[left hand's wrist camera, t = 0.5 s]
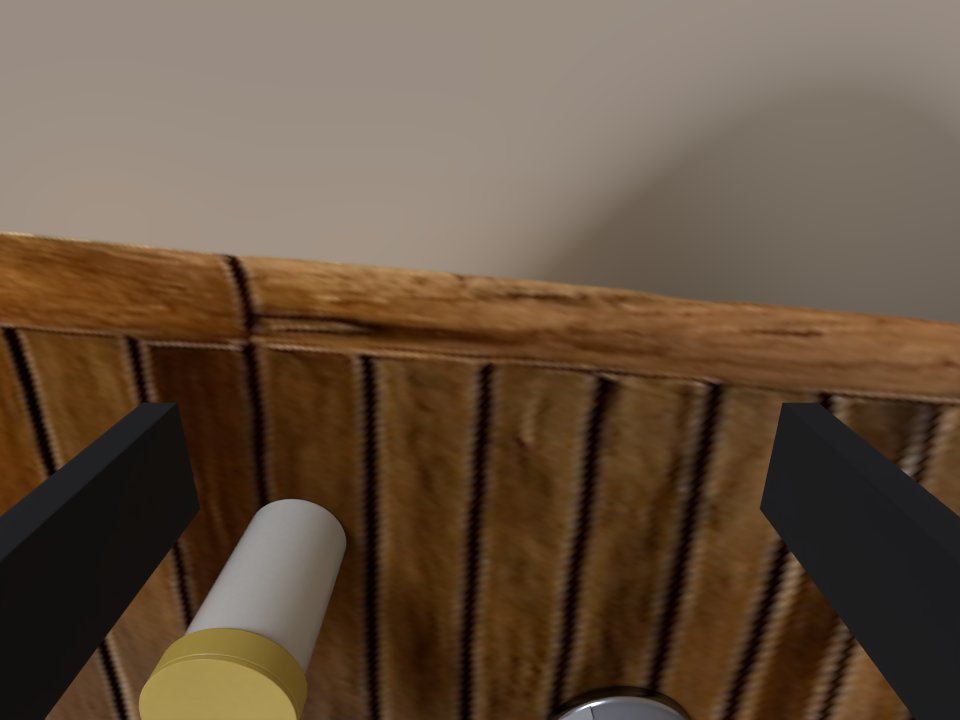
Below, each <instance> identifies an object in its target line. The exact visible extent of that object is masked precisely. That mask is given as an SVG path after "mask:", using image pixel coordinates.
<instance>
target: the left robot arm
mask: <svg viewBox="0 0 960 720" xmlns="http://www.w3.org/2000/svg"><path fill="white" fill-rule="evenodd" d="M199 510H200V506H199V501H198V496H197V492H196V487H195V483H194V478H193V473H192V469H191V464H190V459H189V455H188V450H187V445H186V441H185V436H184V431H183V427H182V422H181V417H180V413H179V408H178V403H141V404H140V405H139V406H138V407H136V408H135V409H134V410H133V411H131V412H130V413H129V414H128V415H126V416H125V417H124V418H123V419H121V420H120V421H119V422H118V423H116V424H115V425H114V426H113V427H111V428H110V429H109V430H108V431H106V432H105V433H104V434H103V435H102V436H100V437H99V438H98V439H97V440H95V441H94V442H93V443H92V444H90V445H89V446H88V447H87V448H85V449H84V450H83V451H82V452H80V453H79V454H78V455H77V456H75V457H74V458H73V459H72V460H70V461H69V462H68V463H67V464H65V465H64V466H63V467H62V468H61V469H59V470H58V471H57V472H56V473H54V474H53V475H52V476H51V477H49V478H48V479H47V480H46V481H44V482H43V483H42V484H41V485H39V486H38V487H37V488H36V489H34V490H33V491H32V492H31V493H29V494H28V495H27V496H26V497H25V498H23V499H22V500H21V501H20V502H18V503H17V504H16V505H15V506H13V507H12V508H11V509H10V510H8V511H7V512H6V513H5V514H3V515H2V516H1V517H0V720H44V719H45V718H46V716H47V715H48V714H49V712H50V711H51V710H52V708H53V707H54V706H55V704H56V703H57V702H58V700H59V699H60V698H61V696H62V695H63V694H64V692H65V691H66V689H67V688H68V687H69V685H70V684H71V683H72V681H73V680H74V679H75V677H76V676H77V675H78V673H79V672H80V671H81V669H82V668H83V666H84V665H85V664H86V662H87V661H88V660H89V658H90V657H91V656H92V654H93V653H94V652H95V650H96V649H97V648H98V646H99V645H100V644H101V642H102V641H103V639H104V638H105V637H106V635H107V634H108V633H109V631H110V630H111V629H112V627H113V626H114V625H115V623H116V622H117V621H118V619H119V618H120V617H121V615H122V614H123V612H124V611H125V610H126V608H127V607H128V606H129V604H130V603H131V602H132V600H133V599H134V598H135V596H136V595H137V594H138V592H139V591H140V589H141V588H142V587H143V585H144V584H145V583H146V581H147V580H148V579H149V577H150V576H151V575H152V573H153V572H154V571H155V569H156V568H157V567H158V565H159V564H160V562H161V561H162V560H163V558H164V557H165V556H166V554H167V553H168V552H169V550H170V549H171V548H172V546H173V545H174V544H175V542H176V541H177V539H178V538H179V537H180V535H181V534H182V533H183V531H184V530H185V529H186V527H187V526H188V525H189V523H190V522H191V521H192V519H193V518H194V517H195V515H196V514H197V512H198V511H199ZM760 510H761V511H762V512H763V514H764V515H765V517H766V518H767V519H768V521H769V522H770V523H771V525H772V526H773V527H774V529H775V530H776V531H777V533H778V534H779V535H780V537H781V538H782V539H783V541H784V542H785V544H786V545H787V546H788V548H789V549H790V550H791V552H792V553H793V554H794V556H795V557H796V558H797V560H798V561H799V562H800V564H801V565H802V567H803V568H804V569H805V571H806V572H807V573H808V575H809V576H810V577H811V579H812V580H813V581H814V583H815V584H816V585H817V587H818V588H819V589H820V591H821V592H822V594H823V595H824V596H825V598H826V599H827V600H828V602H829V603H830V604H831V606H832V607H833V608H834V610H835V611H836V612H837V614H838V615H839V617H840V618H841V619H842V621H843V622H844V623H845V625H846V626H847V627H848V629H849V630H850V631H851V633H852V634H853V635H854V637H855V638H856V639H857V641H858V642H859V644H860V645H861V646H862V648H863V649H864V650H865V652H866V653H867V654H868V656H869V657H870V658H871V660H872V661H873V662H874V664H875V665H876V666H877V668H878V669H879V671H880V672H881V673H882V675H883V676H884V677H885V679H886V680H887V681H888V683H889V684H890V685H891V687H892V688H893V689H894V691H895V692H896V694H897V695H898V696H899V698H900V699H901V700H902V702H903V703H904V704H905V706H906V707H907V708H908V710H909V711H910V712H911V714H912V715H913V716H914V718H915V719H916V720H960V517H959V516H958V515H957V514H955V513H954V512H953V511H952V510H950V509H949V508H948V507H947V506H945V505H944V504H943V503H942V502H940V501H939V500H938V499H937V498H935V497H934V496H933V495H932V494H931V493H929V492H928V491H927V490H926V489H924V488H923V487H922V486H921V485H919V484H918V483H917V482H916V481H914V480H913V479H912V478H911V477H909V476H908V475H907V474H906V473H904V472H903V471H902V470H901V469H899V468H898V467H897V466H896V465H894V464H893V463H892V462H891V461H890V460H888V459H887V458H886V457H885V456H883V455H882V454H881V453H880V452H878V451H877V450H876V449H875V448H873V447H872V446H871V445H870V444H868V443H867V442H866V441H865V440H863V439H862V438H861V437H860V436H858V435H857V434H856V433H855V432H854V431H852V430H851V429H850V428H849V427H847V426H846V425H845V424H844V423H842V422H841V421H840V420H839V419H837V418H836V417H835V416H834V415H832V414H831V413H830V412H829V411H827V410H826V409H825V408H824V407H822V406H821V405H820V404H819V403H782V408H781V413H780V417H779V422H778V427H777V431H776V436H775V441H774V445H773V450H772V455H771V459H770V464H769V469H768V473H767V478H766V483H765V487H764V492H763V496H762V501H761V506H760ZM547 720H690V718H689V717H688V715H687V714H686V712H685V711H684V710H683V709H682V708H681V707H680V706H679V705H678V704H677V703H676V702H674V701H673V700H671V699H670V698H668V697H666V696H664V695H662V694H659V693H657V692H654V691H650V690H647V689H641V688H634V687H611V688H603V689H598V690H594V691H590V692H587V693H584V694H582V695H579V696H577V697H575V698H573V699H571V700H569V701H567V702H566V703H564V704H563V705H561V706H560V707H559V708H557V709H556V710H555V711H554V712H553V713H552V714H551V715H550V716H549V717H548V719H547Z"/></svg>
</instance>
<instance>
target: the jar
mask: <svg viewBox="0 0 960 720" xmlns="http://www.w3.org/2000/svg"><path fill="white" fill-rule="evenodd" d="M345 551H346V536H345V533H344V530H343V528H342V526H341V524H340V523H339V521H338V520H337V519H336V518H335V517H334V516H333V515H332V514H331V513H330V512H329V511H327V510H326V509H324V508H323V507H321V506H319V505H317V504H315V503H312V502H309V501H305V500H299V499H284V500H279V501H275V502H272V503H270V504H268V505H266V506H264V507H263V508H261V509H260V510H259V511H258V512H257V513H256V514H255V515H254V517H253V518H252V520H251V522H250V523H249V525H248V527H247V529H246V530H245V532H244V534H243V535H242V537H241V539H240V540H239V542H238V544H237V546H236V547H235V549H234V551H233V552H232V554H231V556H230V558H229V559H228V561H227V563H226V564H225V566H224V568H223V569H222V571H221V573H220V575H219V576H218V578H217V580H216V581H215V583H214V585H213V586H212V588H211V590H210V592H209V593H208V595H207V597H206V598H205V600H204V602H203V604H202V605H201V607H200V609H199V610H198V612H197V614H196V615H195V617H194V619H193V621H192V622H191V624H190V626H189V627H188V629H187V631H186V632H185V634H184V636H185V635H188V634H190V633H193V632H196V631H199V630H204V629H210V628H233V629H240V630H244V631H249V632H252V633H255V634H258V635H261V636H263V637H265V638H268V639H270V640H272V641H273V642H275V643H277V644H278V645H280V646H281V647H283V648H284V649H285V650H286V651H287V652H289V653H290V654H291V655H292V656H293V657H294V659H295V660H296V661H297V662H298V664H299V665H300V667H301V669H302V671H303V673H304V675H305V676H306V673H307V670H308V667H309V664H310V661H311V657H312V654H313V651H314V648H315V645H316V642H317V639H318V636H319V632H320V629H321V626H322V623H323V620H324V617H325V614H326V611H327V607H328V604H329V601H330V598H331V595H332V592H333V589H334V586H335V582H336V579H337V576H338V573H339V570H340V567H341V564H342V561H343V557H344V554H345Z"/></svg>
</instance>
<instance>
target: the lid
mask: <svg viewBox="0 0 960 720" xmlns="http://www.w3.org/2000/svg"><path fill="white" fill-rule="evenodd" d="M306 697H307V682H306V679H305V675H304V673H303V671H302V669H301V667H300V665H299V664H298V662H297V661H296V660H295V659H294V657H293V656H292V655H291V654H290V653H289V652H287V651H286V650H285V649H284V648H283V647H281V646H280V645H278V644H277V643H275V642H273V641H272V640H270V639H268V638H265V637H263V636H261V635H258V634H255V633H252V632H249V631H244V630H240V629H233V628H210V629H204V630H199V631H196V632H193V633H190V634H188V635H185V636H183V637H182V638H180V639H178V640H177V641H176V642H174V643H173V644H172V645H171V646H170V647H169V648H168V649H167V650H166V651H165V653H164V655H163V656H162V658H161V659H160V661H159V663H158V664H157V666H156V668H155V669H154V671H153V673H152V674H151V676H150V678H149V679H148V681H147V683H146V684H145V686H144V688H143V689H142V692H141V695H140V700H139V711H140V715H141V719H142V720H300V717H301V714H302V710H303V707H304V704H305V700H306Z"/></svg>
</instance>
